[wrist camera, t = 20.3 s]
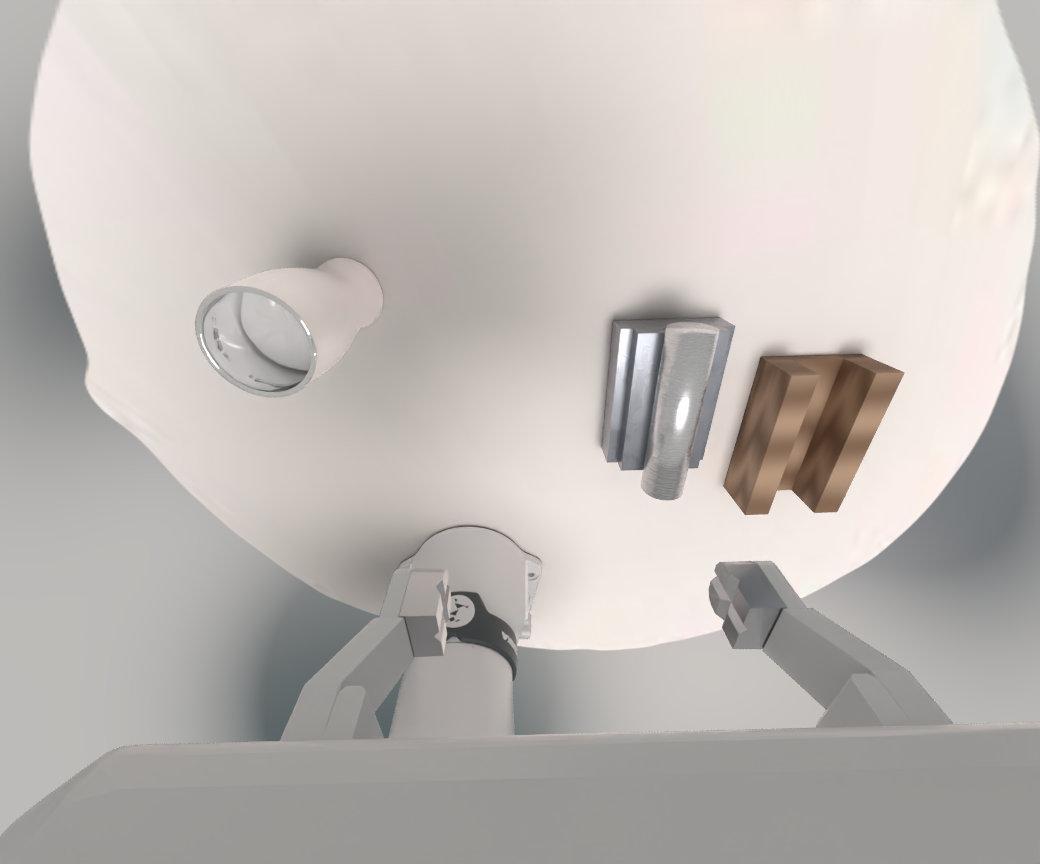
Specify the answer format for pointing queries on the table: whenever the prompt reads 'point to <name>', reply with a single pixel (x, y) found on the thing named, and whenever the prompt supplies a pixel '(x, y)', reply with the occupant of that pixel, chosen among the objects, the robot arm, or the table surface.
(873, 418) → the wooden channel cradle
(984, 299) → the table surface
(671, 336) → the axle
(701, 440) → the v block
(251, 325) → the beer glass
